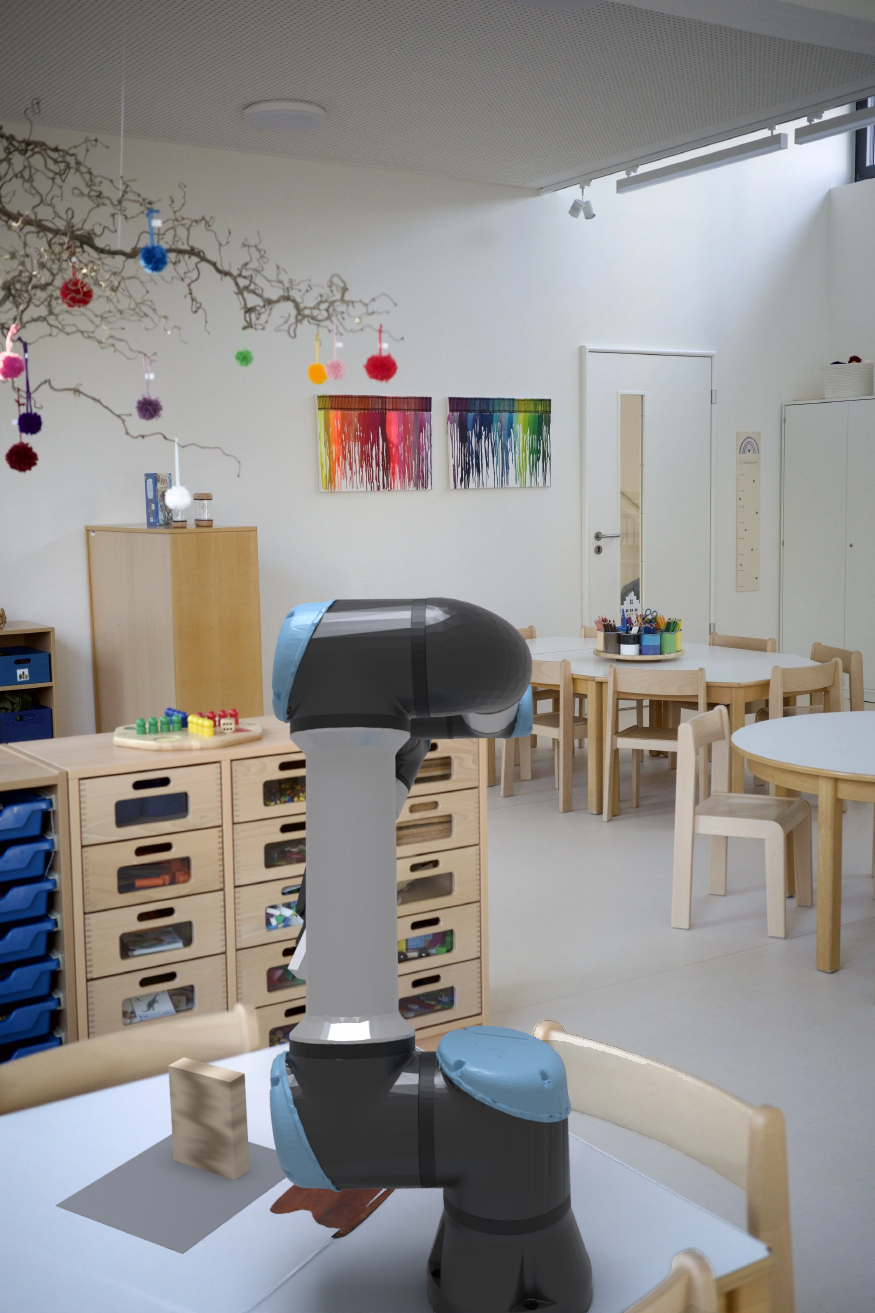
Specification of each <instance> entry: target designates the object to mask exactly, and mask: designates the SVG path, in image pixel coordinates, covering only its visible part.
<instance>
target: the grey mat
mask: <svg viewBox="0 0 875 1313" xmlns="http://www.w3.org/2000/svg"><path fill="white" fill-rule="evenodd" d="M248 1148H249V1168H250V1170H249V1171H247V1172H246V1173H245V1174H243V1175H242V1176H240V1177H239V1178H237V1179H236V1180H233V1179H230V1178H227V1177H224V1176H221V1175H218V1174H215V1173H212V1172H208V1171H205V1170H202V1169H199V1168H196V1167H193V1166H190V1165H187V1164H184V1163H181V1162H178V1161H175V1160H174V1157H173V1139H172V1133H171V1134H170V1135H168V1136H166V1137H165V1138H163V1139H161V1140H159V1141H158V1142H156V1143H154V1144H153V1145H151V1146H150V1147H148V1148H146V1149H145V1150H143V1151H142V1152H140V1153H138V1154H137V1155H135V1156H134V1157H131V1158H130V1159H129V1160H127V1161H125V1162H123V1163H122V1164H120V1165H119V1166H117V1167H116V1168H114V1169H112V1170H110V1171H109V1172H108V1173H106V1174H104V1175H102V1176H101V1177H99V1178H98V1179H96V1180H94V1181H93V1182H91V1183H89V1184H88V1185H86V1186H84V1187H83V1188H82V1189H79V1190H78V1191H77V1192H75V1193H73V1194H71V1195H69V1197H67V1198H65V1199H63V1200H62V1201H59V1203H57V1204H56V1205H55V1207H58V1208H61V1209H64V1210H66V1211H67V1212H71V1213H74V1214H77V1215H79V1216H81V1217H84V1218H86V1219H87V1218H88V1219H90V1220H92V1221H95V1222H98V1223H100V1224H103V1225H106V1226H107V1227H111V1228H114V1229H116V1230H119V1231H121V1232H124V1233H126V1234H130V1235H131V1236H134V1237H137V1238H140V1239H143V1240H144V1241H148V1242H150V1243H152V1244H155V1245H159V1246H160V1247H164V1248H166V1249H169V1250H171V1251H174V1252H176V1253H180V1254H181V1255H184V1254H185V1253H186V1252H187V1251H189V1250H190V1249H191V1248H193V1247H194V1246H196V1245H197V1244H198V1243H199V1242H201V1241H203V1240H204V1239H205V1238H206V1237H208V1236H209V1235H210V1234H212V1233H213V1232H215V1231H216V1230H217V1229H218V1228H220V1227H222V1225H224V1224H225V1223H227V1222H228V1221H230V1220H231V1219H232V1218H233V1217H235V1216H236V1215H237V1214H239V1213H240V1212H242V1211H243V1210H244V1209H245V1208H247V1207H248V1206H250V1205H251V1204H252V1203H254V1202H255V1201H256V1200H258V1199H259V1198H261V1197H262V1196H263V1195H265V1194H266V1193H267V1192H268V1191H269V1190H271V1189H273V1188H274V1187H275V1186H276V1185H278V1184H279V1183H281V1182H282V1181H283V1180H285V1179H286V1178H287V1177H286V1176H285V1174H284V1172H283V1170H282V1168H281V1165H280V1162H279V1159H278V1156H277V1152H276V1149H274V1148H270V1147H267V1146H265V1145H260V1144H257V1143H254V1142H251V1141H248Z"/></svg>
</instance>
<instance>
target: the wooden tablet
mask: <svg viewBox="0 0 875 1313" xmlns="http://www.w3.org/2000/svg"><path fill="white" fill-rule="evenodd" d="M394 1190H395V1189H343V1190H342V1191H341V1192H335V1191H333V1190H331V1189H318V1188H302V1187H298V1186H296V1185H294V1184H293V1185H291V1186H290V1187H289V1188H288V1189H287V1190H286V1191H284V1192H283V1193H282V1194H281V1195H280V1196H279V1197H278V1198H277V1199H276V1200H275V1201H274V1202H273V1204H271V1206H270V1208H269V1212H271V1214H274V1215H283V1214H290V1213H294V1212H297V1211H308V1212H310V1213H311V1216H312V1218H313V1220H314V1222H315V1223H316V1224H318V1225H320V1226H323V1227H325V1228H328V1229H337V1231H336V1232H335V1233H333V1234H332V1235H331V1236H330V1238H341V1237H344V1236H345V1235H347V1233H349V1232H350V1231H352V1230H353V1229H354V1228H355V1227H356V1226H358V1224H360V1223H361V1222H362V1221H363V1220H365V1219H366V1218H367V1217H368V1216H369V1215H370V1214H371V1213H372V1212H373V1211H374V1210H376V1209H377V1208H378V1206H379V1205H380V1204H382V1202H384V1200H386V1198H388V1196H389V1195H390V1194H391V1193H392V1192H393V1191H394ZM382 1191H383V1192H382ZM381 1192H382V1193H381Z"/></svg>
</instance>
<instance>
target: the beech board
mask: <svg viewBox="0 0 875 1313" xmlns="http://www.w3.org/2000/svg"><path fill="white" fill-rule="evenodd" d="M167 1067H168V1069H167V1070H168V1085H169V1100H170V1101H169V1102H170V1120H171V1134H172V1139H173V1157H174V1160H175V1161H178V1162H181V1163H184V1164H187V1165H190V1166H193V1167H196V1168H199V1169H202V1170H205V1171H208V1172H212V1173H215V1174H218V1175H221V1176H224V1177H227V1178H230V1179H233V1180H236V1179H237V1178H239V1177H240V1176H242V1175H243V1174H245V1173H246V1172H247V1171H249V1170H250V1168H249V1148H248V1142H249V1135H248V1134H249V1131H248V1130H249V1129H248V1115H247V1114H248V1111H247V1110H248V1109H247V1093H246V1075H245V1074H246V1073H244V1072H242V1071H241V1072H240V1071H236V1070H233V1069H229V1068H226V1067H221V1066H218V1065H213V1064H210V1063H207V1062H202V1061H199V1060H195V1059H190V1058H188V1057H185V1056H184V1057H181V1058H180V1059H178V1060H175V1061H174V1062H172V1063H170V1064H168V1066H167Z"/></svg>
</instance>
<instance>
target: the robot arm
mask: <svg viewBox="0 0 875 1313" xmlns="http://www.w3.org/2000/svg"><path fill="white" fill-rule="evenodd" d="M275 644H276V645H275V650H274V655H273V656H274V657H273V664H272V675H271V676H272V677H271V689H272V695H271V696H272V698H271V700H272V702H271V704H272V709H273V714H274V717H275V718H276V719H277V720H278V721H280V722H283V723H285V724H289V740H290V741H291V742H292V743H293V744H294V745H295V746H296V747H297V748H298V749H299V750H300V751H301V752H302V753H303V754H304V757H305V850H304V855H305V867H304V872H303V876H302V879H301V884H300V887H299V890H298V896H297V899H296V905H295V907H294V908H295V909H294V912H295V914H296V915H297V916H299V918H300V919H301V920H302V921H303V924H302V926H301V928H300V930H299V932H298V935H297V937H296V939H295V944H294V945H295V946H296V949H295V951H294V953H293V956H292V958H291V960H290V962H289V963H288V967H287V969H288V971H289V972H291V974H293V975H294V976H295V977H296V978H297V979H299V980H304V981H305V1014H304V1016H303V1018H302V1019H301V1020H300V1021H299V1023H298V1024H296V1026H295V1027H294V1028H293V1029H292V1030H291V1031H290V1033H289V1036H288V1039H289V1040H288V1042H289V1043H288V1045H289V1046H288V1049H289V1050H284V1051H282V1052H281V1053H278V1054H277V1055H276V1056H275V1057H274V1058H273V1060H272V1063H271V1067H270V1074H269V1075H270V1076H269V1078H270V1080H269V1082H270V1090H269V1109H270V1120H271V1130H272V1136H273V1137H272V1138H273V1141H274V1147H275V1150H276V1152H277V1156H278V1159H279V1162H280V1165H281V1168H282V1170H283V1172H284V1174H285V1176H286V1178H287V1180H289V1181H290V1183H292V1184H293V1185H296V1186H298V1187H302V1188H318V1189H331V1190H333V1191H335V1192H341V1191H342V1190H343V1189H383V1190H386V1189H394V1190H395V1189H396V1190H397V1189H398V1190H402V1189H403V1190H407V1189H409V1190H410V1189H412V1190H413V1189H442V1200H443V1208H442V1211H441V1216H440V1220H439V1223H438V1226H437V1229H436V1233H435V1236H434V1238H433V1243H432V1245H431V1249H430V1251H429V1252H430V1253H429V1256H428V1260H427V1265H426V1266H427V1267H426V1287H427V1288H426V1289H427V1290H426V1293H427V1298H428V1301H429V1304H430V1306H431V1308H432V1310H433V1311H434V1312H435V1313H586V1311H587V1310H588V1309H589V1306H590V1305H591V1302H592V1299H593V1269H592V1267H593V1266H592V1263H591V1259H590V1255H589V1253H588V1251H587V1248H586V1245H585V1242H584V1240H583V1237H582V1233H581V1231H580V1227H579V1225H578V1223H577V1220H576V1216H575V1215H574V1211H573V1208H572V1194H571V1192H572V1191H571V1186H572V1185H571V1164H570V1163H571V1162H570V1161H571V1160H570V1134H569V1115H570V1114H571V1109H572V1103H571V1099H570V1095H569V1091H568V1090H569V1089H568V1077H567V1068H566V1065H565V1063H564V1060H563V1059H562V1057H561V1055H560V1054H559V1053H558V1051H556V1050H555V1049H554V1048H553V1047H552V1046H551V1045H550V1044H548V1043H547V1042H545V1041H544V1040H542V1039H539V1038H537V1037H536V1036H534V1035H532V1034H529V1033H527V1032H525V1031H520V1030H518V1029H515V1028H510V1027H504V1026H503V1027H502V1026H496V1025H495V1026H494V1025H469V1026H465V1028H464V1029H461V1028H456V1029H453V1030H451V1031H449V1032H447V1033H446V1034H444V1035H443V1036H442V1038H441V1039H440V1040H439V1042H438V1044H437V1046H436V1050H435V1051H434V1050H430V1051H428V1050H427V1051H423V1050H420V1051H419V1050H417V1049H416V1029H415V1028H414V1027H413V1026H412V1025H411V1024H410V1023H409V1022H408V1021H407V1019H405V1018H404V1017H403V1016H402V1014H401V1013H400V1010H399V1008H400V1007H399V954H398V953H399V947H398V946H399V945H398V944H399V942H398V940H399V938H398V873H397V872H398V871H397V870H398V868H397V866H398V864H397V861H398V860H397V820H398V819H399V817H400V815H401V813H402V810H403V808H404V806H405V803H406V801H407V799H408V797H409V794H410V792H411V789H412V788H413V785H414V783H415V780H416V779H417V776H418V774H419V772H420V769H421V768H422V764H423V763H424V760H425V757H426V756H428V755H427V754H428V753H429V752H430V750H431V745H432V741H433V740H454V739H457V740H458V739H459V740H460V739H465V740H466V739H505V740H508V739H512V738H525V737H526V738H527V737H528V736H530V735H531V734H532V732H533V731H534V730H533V729H534V727H533V725H534V710H533V709H534V706H533V705H534V703H533V700H534V699H533V688H532V685H531V679H532V675H533V657H532V654H531V650H530V647H529V645H528V643H527V641H526V639H525V637H524V636H523V635H522V634H521V633H520V631H518V629H517V628H516V627H515V626H514V625H513V624H511V623H510V622H509V621H508V620H506V619H505V618H503V617H502V616H499V615H498V614H496V613H495V612H493V611H491V610H488V609H486V608H484V607H483V606H480V605H476V604H474V603H471V602H468V601H465V600H460V599H456V598H450V597H444V596H443V597H442V596H439V597H427V598H425V597H423V598H421V597H419V598H363V599H361V598H358V599H356V598H355V599H354V598H353V599H352V598H351V599H350V598H349V599H347V598H346V599H342V598H341V599H337V598H332V599H330V600H328V601H327V600H326V601H319V602H318V601H317V602H308V603H307V602H306V603H305V602H304V603H300V604H298V605H296V606H294V607H292V608H291V609H290V611H288V613H286V616H285V617H284V619H283V622H282V624H281V627H280V629H279V633H278V637H277V641H276V643H275Z"/></svg>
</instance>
